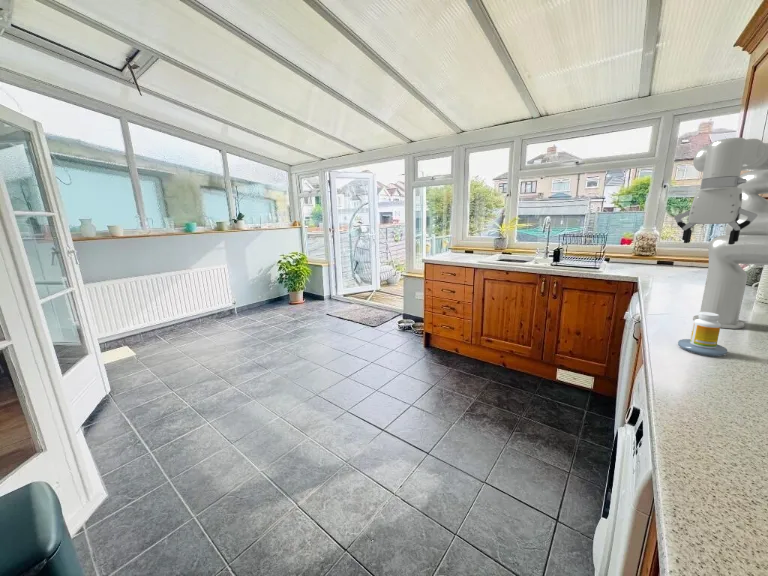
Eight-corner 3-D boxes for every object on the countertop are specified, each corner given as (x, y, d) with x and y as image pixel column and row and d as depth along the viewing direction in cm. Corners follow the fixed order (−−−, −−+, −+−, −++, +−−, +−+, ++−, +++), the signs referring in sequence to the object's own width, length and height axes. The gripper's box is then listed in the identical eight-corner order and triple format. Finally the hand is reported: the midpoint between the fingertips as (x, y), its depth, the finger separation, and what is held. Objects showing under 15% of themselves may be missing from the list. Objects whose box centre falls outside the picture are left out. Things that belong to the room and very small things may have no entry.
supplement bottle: (721, 349, 86) (728, 316, 84) (698, 348, 88) (705, 316, 86) (706, 342, 92) (713, 311, 90) (685, 341, 93) (691, 310, 91)
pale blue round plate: (684, 341, 97) (684, 336, 96) (730, 351, 88) (731, 346, 88) (672, 348, 92) (673, 344, 91) (720, 360, 83) (721, 355, 83)
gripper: (768, 181, 84) (754, 243, 88) (683, 188, 99) (675, 241, 102) (762, 180, 81) (748, 245, 84) (675, 187, 95) (666, 243, 99)
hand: (708, 243), depth 93 cm, fingers open, 9 cm apart
